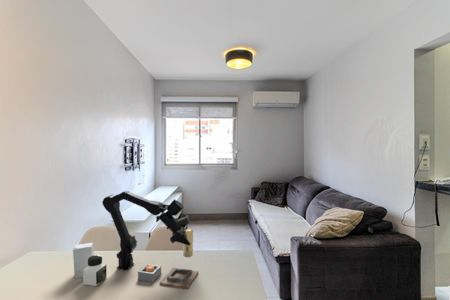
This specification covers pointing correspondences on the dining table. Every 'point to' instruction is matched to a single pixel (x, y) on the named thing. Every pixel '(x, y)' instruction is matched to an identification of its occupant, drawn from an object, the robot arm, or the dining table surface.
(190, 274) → the brown board with frame
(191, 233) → the brass billet
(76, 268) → the skincare box
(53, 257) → the dining table surface
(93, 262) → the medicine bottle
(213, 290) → the dining table surface
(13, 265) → the dining table surface
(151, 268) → the button
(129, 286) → the dining table surface
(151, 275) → the button housing
